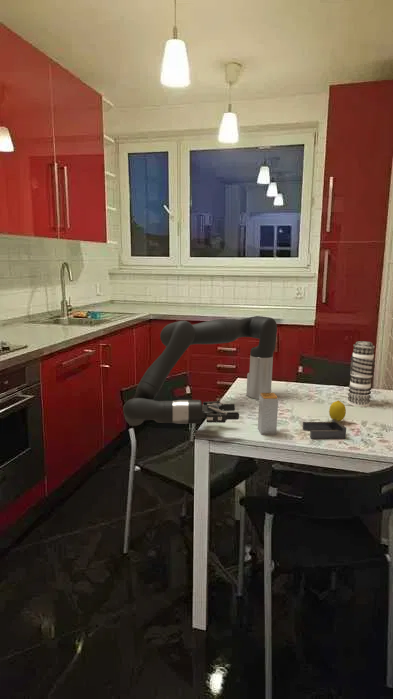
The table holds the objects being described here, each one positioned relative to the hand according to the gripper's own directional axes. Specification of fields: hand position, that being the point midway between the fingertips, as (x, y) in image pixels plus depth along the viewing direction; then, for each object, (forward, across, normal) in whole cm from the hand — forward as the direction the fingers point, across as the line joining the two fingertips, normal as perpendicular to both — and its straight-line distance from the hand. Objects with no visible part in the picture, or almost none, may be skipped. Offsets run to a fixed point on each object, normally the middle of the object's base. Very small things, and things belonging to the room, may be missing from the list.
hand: (236, 411), depth 147 cm
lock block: (+10, 0, +7) cm, 12 cm away
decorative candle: (+55, +30, +7) cm, 63 cm away
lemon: (+37, +8, +7) cm, 39 cm away
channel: (+28, -2, +7) cm, 29 cm away
